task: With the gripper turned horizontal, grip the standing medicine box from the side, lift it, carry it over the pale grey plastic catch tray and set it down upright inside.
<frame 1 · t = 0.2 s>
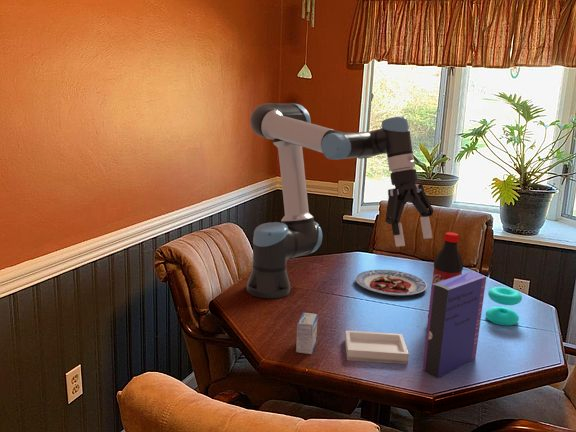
hand: (414, 242, 164), 27 cm above the table, tool tilted 20°, fingers open, 13 cm apart
medicine box: (306, 348, 156), on the table
catch tray: (375, 351, 155), on the table
donuts: (501, 321, 180), on the table
cola bottle: (440, 328, 172), on the table
ceramic plate: (390, 287, 206), on the table
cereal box: (449, 365, 150), on the table
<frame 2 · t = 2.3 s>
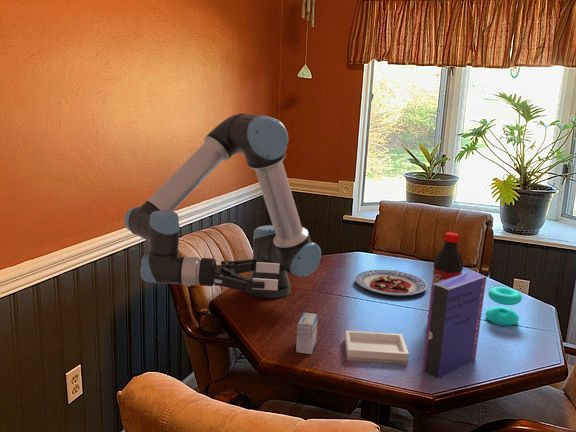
hand: (278, 276, 151), 20 cm above the table, tool horizontal, fingers open, 13 cm apart
nothing on the table moved.
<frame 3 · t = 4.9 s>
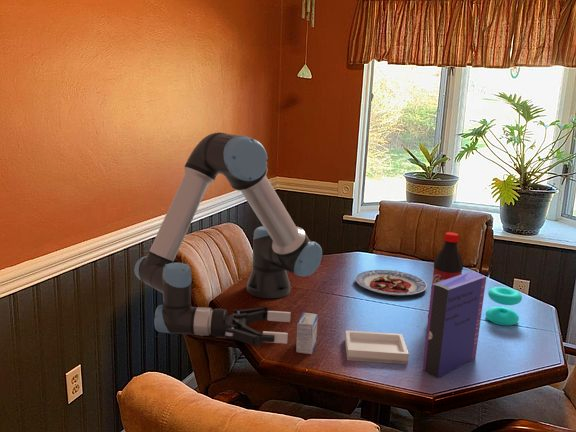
hand: (289, 327, 154), 6 cm above the table, tool horizontal, fingers open, 13 cm apart
nothing on the table moved.
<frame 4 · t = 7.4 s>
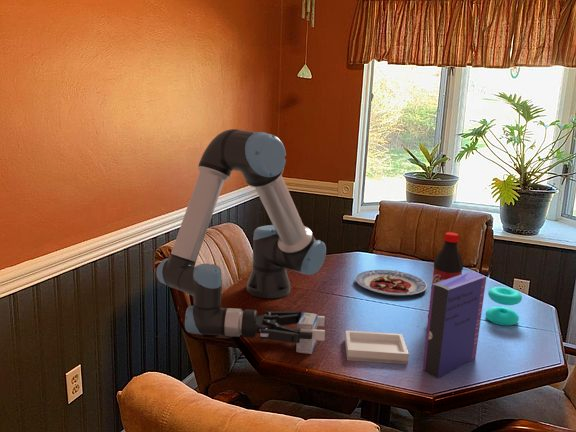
hand: (324, 328, 154), 6 cm above the table, tool horizontal, fingers closed on medicine box, 8 cm apart
medicine box: (306, 348, 156), on the table, touching gripper
everything else where it was.
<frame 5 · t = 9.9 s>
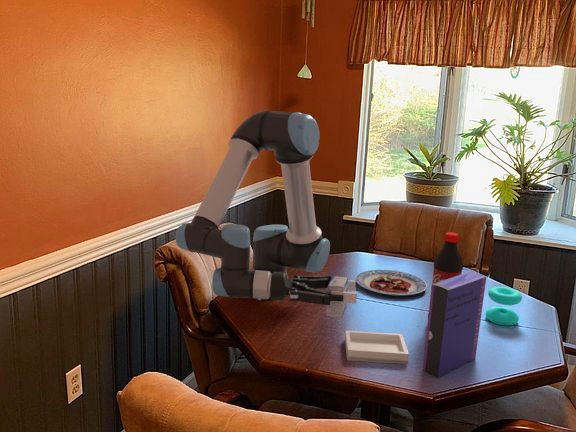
hand: (355, 291, 149), 18 cm above the table, tool horizontal, fingers closed on medicine box, 8 cm apart
medicine box: (336, 312, 151), point 12 cm above the table, touching gripper
everything else where it was.
when the fingers open (9 cm above the table, at t = 12.7 s): medicine box drops 2 cm, resting on catch tray.
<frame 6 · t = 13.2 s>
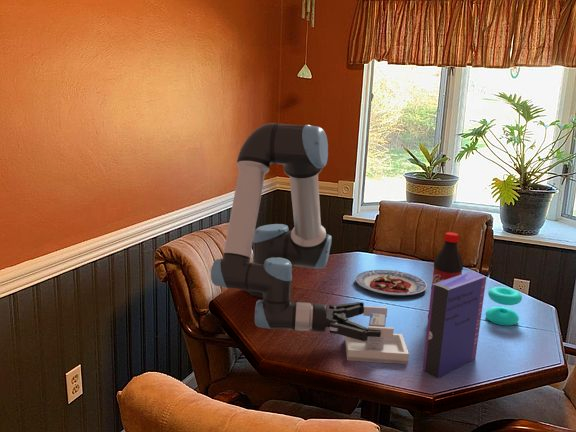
hand: (390, 322, 153), 9 cm above the table, tool horizontal, fingers open, 13 cm apart
medicine box: (375, 348, 155), point 1 cm above the table, touching catch tray
everything else where it was.
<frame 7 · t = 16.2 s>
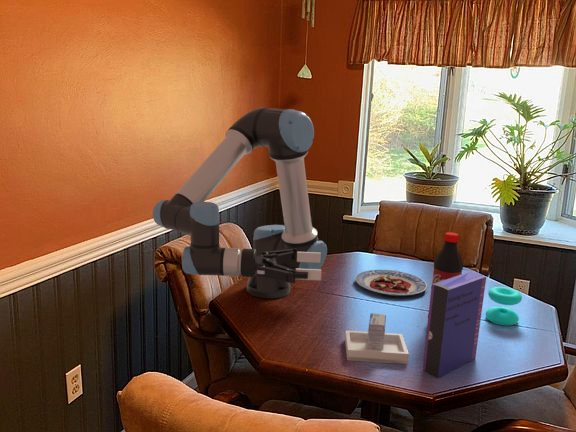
hand: (321, 265, 149), 24 cm above the table, tool horizontal, fingers open, 13 cm apart
nothing on the table moved.
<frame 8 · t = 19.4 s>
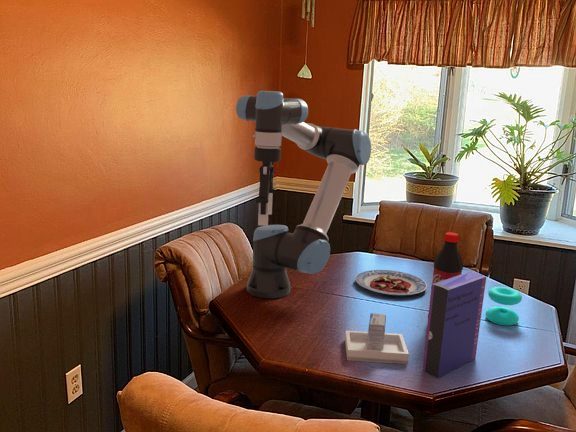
hand: (265, 219, 164), 32 cm above the table, tool pointing down, fingers open, 13 cm apart
nothing on the table moved.
at the end: medicine box inside the target area on the catch tray (0.1 cm from its centre), point 0.8 cm above the catch tray's base; medicine box tilted 0°; the gripper is holding nothing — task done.
